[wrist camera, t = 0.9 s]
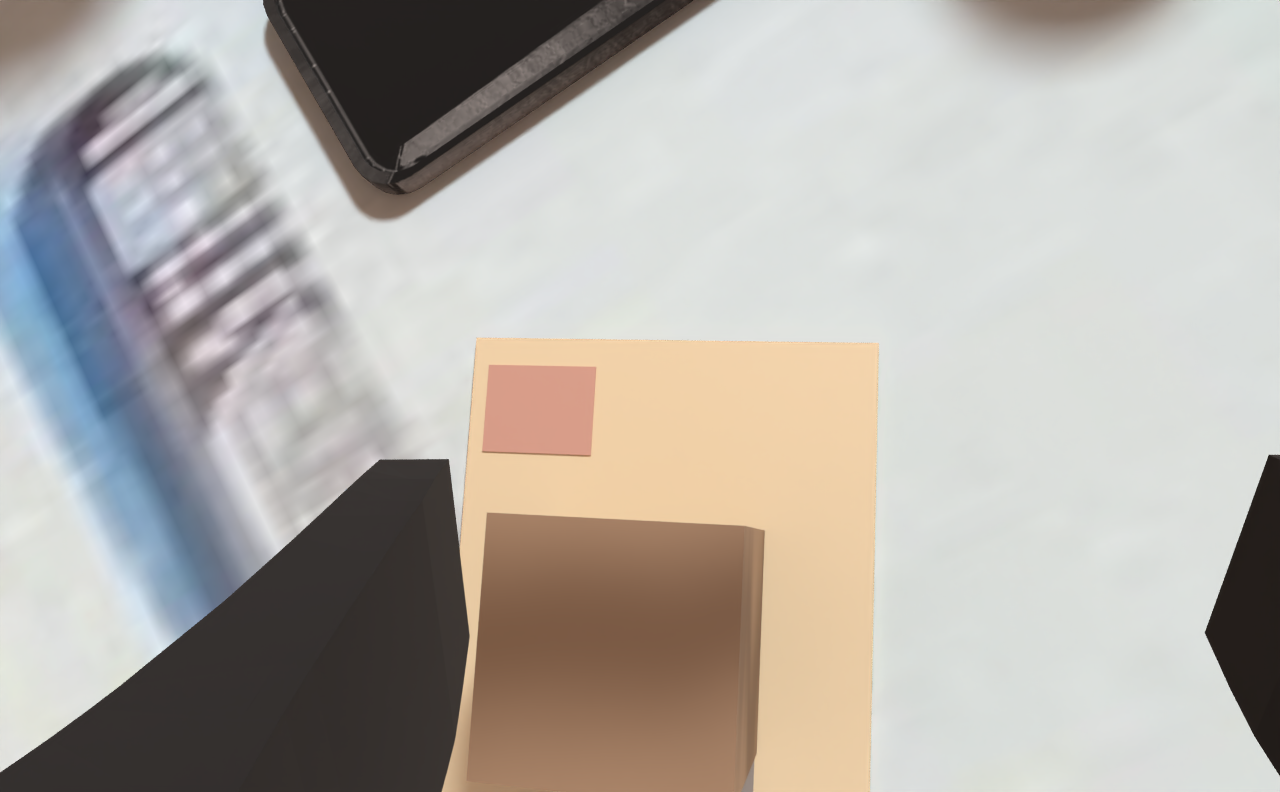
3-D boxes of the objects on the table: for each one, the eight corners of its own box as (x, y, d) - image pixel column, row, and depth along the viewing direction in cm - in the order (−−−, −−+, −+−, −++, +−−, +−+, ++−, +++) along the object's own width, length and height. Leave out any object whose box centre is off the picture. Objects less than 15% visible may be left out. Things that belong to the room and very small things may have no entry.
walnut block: (756, 753, 22) (733, 811, 17) (544, 732, 23) (466, 781, 18) (764, 530, 23) (744, 526, 18) (558, 519, 24) (487, 512, 19)
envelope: (865, 979, 21) (865, 983, 21) (432, 917, 23) (429, 920, 23) (878, 344, 23) (878, 342, 23) (479, 339, 25) (475, 337, 25)
